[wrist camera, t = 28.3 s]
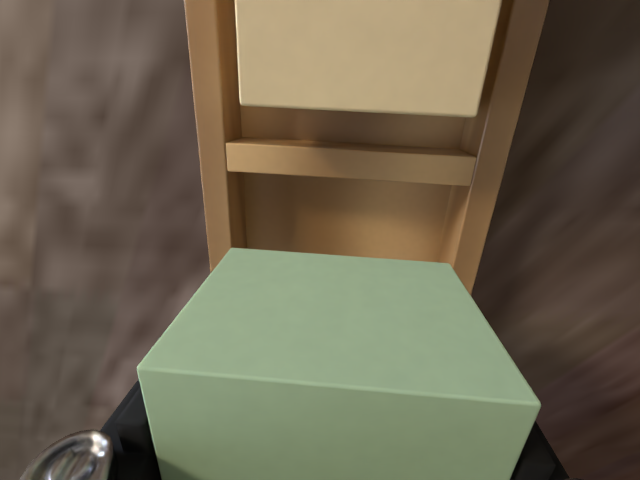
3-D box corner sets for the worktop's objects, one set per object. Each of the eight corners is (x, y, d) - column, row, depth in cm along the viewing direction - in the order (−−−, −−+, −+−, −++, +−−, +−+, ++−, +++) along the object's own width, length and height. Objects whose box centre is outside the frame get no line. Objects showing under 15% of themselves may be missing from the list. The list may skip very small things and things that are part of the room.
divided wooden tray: (557, -192, 9) (629, -293, 7) (431, 352, 17) (445, 393, 15) (200, -193, 10) (154, -287, 8) (236, 335, 18) (219, 371, 15)
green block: (450, 262, 9) (543, 404, 5) (414, 419, 11) (456, 607, 7) (230, 246, 9) (134, 367, 5) (241, 403, 11) (182, 574, 7)
